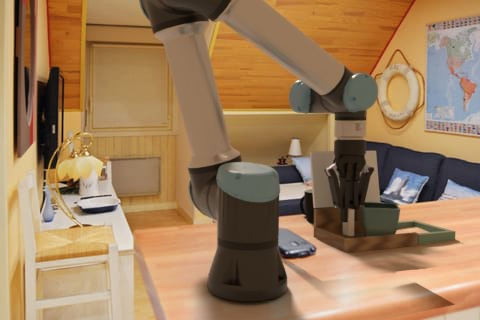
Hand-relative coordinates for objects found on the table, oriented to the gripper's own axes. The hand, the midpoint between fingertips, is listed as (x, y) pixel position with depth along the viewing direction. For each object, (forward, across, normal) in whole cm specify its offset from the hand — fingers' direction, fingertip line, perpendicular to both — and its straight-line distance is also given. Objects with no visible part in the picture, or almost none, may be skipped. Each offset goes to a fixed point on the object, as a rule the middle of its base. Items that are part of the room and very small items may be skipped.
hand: (348, 234), depth 113 cm
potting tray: (+2, +20, 0) cm, 20 cm away
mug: (+2, +3, +21) cm, 22 cm away
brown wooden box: (+2, +5, 0) cm, 5 cm away
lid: (-6, +5, +7) cm, 10 cm away
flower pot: (+2, +9, 0) cm, 9 cm away
